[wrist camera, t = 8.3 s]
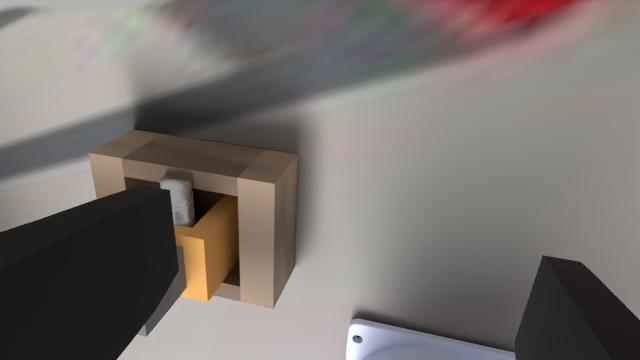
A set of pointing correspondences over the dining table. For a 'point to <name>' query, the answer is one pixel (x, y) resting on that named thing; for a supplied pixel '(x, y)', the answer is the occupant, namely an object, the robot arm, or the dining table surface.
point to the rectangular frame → (221, 177)
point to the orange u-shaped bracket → (202, 257)
